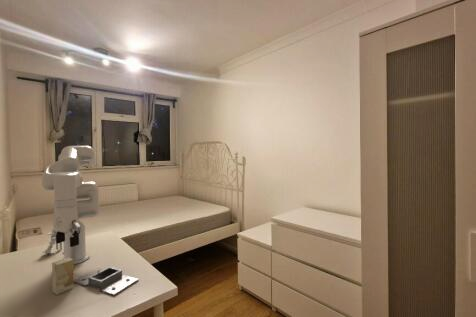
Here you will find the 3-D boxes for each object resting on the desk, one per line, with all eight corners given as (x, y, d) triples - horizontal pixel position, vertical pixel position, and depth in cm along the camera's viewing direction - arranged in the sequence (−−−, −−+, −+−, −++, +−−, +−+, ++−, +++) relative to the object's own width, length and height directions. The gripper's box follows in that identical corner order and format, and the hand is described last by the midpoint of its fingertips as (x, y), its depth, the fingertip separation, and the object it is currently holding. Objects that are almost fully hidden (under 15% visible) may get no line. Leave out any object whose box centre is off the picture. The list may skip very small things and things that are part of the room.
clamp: (41, 255, 130) (39, 229, 130) (57, 248, 139) (56, 224, 139) (46, 256, 129) (45, 229, 129) (63, 249, 138) (62, 224, 138)
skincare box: (56, 295, 93) (55, 265, 92) (52, 292, 95) (50, 262, 95) (74, 287, 98) (73, 259, 98) (70, 284, 101) (68, 256, 100)
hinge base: (73, 282, 102) (72, 274, 102) (99, 269, 113) (98, 262, 113) (114, 296, 91) (113, 287, 91) (138, 280, 102) (138, 272, 102)
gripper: (43, 203, 96) (45, 244, 97) (68, 207, 89) (70, 250, 90) (63, 200, 103) (65, 238, 104) (88, 203, 96) (89, 243, 96)
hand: (67, 244), depth 97 cm, fingers open, 9 cm apart
